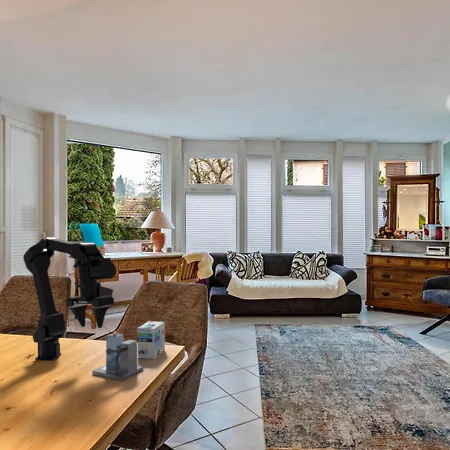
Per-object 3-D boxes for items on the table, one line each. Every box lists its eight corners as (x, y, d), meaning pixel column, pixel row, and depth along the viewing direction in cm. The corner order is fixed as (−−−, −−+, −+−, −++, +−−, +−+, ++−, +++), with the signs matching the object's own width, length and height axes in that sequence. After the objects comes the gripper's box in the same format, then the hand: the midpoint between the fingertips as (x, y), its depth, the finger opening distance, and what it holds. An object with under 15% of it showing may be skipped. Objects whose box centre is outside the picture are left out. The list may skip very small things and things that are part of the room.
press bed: (81, 379, 117) (80, 344, 117) (115, 364, 130) (114, 332, 130) (110, 386, 112) (110, 349, 112) (143, 370, 125) (143, 337, 125)
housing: (107, 370, 120) (107, 334, 121) (104, 365, 125) (105, 330, 126) (124, 368, 123) (124, 332, 123) (121, 363, 127) (121, 329, 128)
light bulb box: (154, 359, 135) (154, 328, 135) (136, 358, 136) (136, 327, 136) (165, 350, 146) (165, 321, 146) (148, 349, 147) (148, 320, 147)
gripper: (125, 276, 130) (129, 323, 130) (91, 278, 141) (95, 321, 140) (97, 280, 121) (101, 330, 121) (63, 282, 132) (67, 328, 131)
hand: (91, 327), depth 128 cm, fingers open, 9 cm apart
